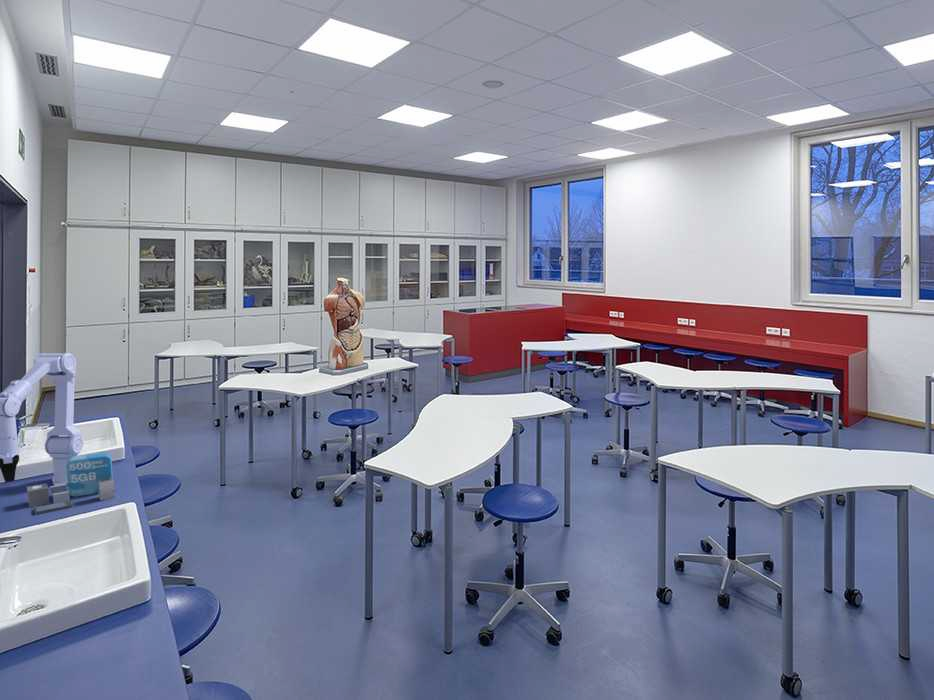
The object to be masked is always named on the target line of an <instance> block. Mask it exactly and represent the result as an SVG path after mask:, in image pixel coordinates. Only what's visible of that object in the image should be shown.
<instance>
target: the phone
mask: <svg viewBox="0 0 934 700" xmlns="http://www.w3.org/2000/svg"><path fill="white" fill-rule="evenodd" d="M72 505H73V504H72V503H71V500H70V501H65V502H60V503H55V504H54V503H51V504H50V503H49V504H44V505H39V506H34V507H33V509H34V516H37V515H43V514H46V513H52V512H56V511H61V510H67V509H72V508H73V506H72ZM71 507H72V508H71Z"/></svg>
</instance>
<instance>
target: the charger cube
mask: <svg viewBox="0 0 934 700" xmlns="http://www.w3.org/2000/svg"><path fill="white" fill-rule="evenodd" d="M26 492H27V503H28V507H29V508H32V507H33V508H34V507H39V506H44V505H49V504H50V496H49V495H50V494H49V487H48V483H41V484H36V485H30V486H26Z"/></svg>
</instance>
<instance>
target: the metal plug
mask: <svg viewBox="0 0 934 700" xmlns="http://www.w3.org/2000/svg"><path fill="white" fill-rule="evenodd" d="M97 485H98V493H97V496H98V497H97V498H98V499H99V501H100V502H102V500H103V501H107V500H112V499H116V491H115V479H114V477H113V478H112V476H111V477H106V478H100V479H97Z"/></svg>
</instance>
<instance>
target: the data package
mask: <svg viewBox="0 0 934 700" xmlns="http://www.w3.org/2000/svg"><path fill="white" fill-rule="evenodd" d="M66 469H67V480H68V483H67V489H68V490H67V491H69V496H70V497H73V498H75V497H81V496H82V497H84V496H90V495H94V494H95V495H96V493H97V494H98V485H97V479H100V478H106V477H111V476H112V478H113V479H114V477H113V473H114V472H113V463H112V455H111V454H110V453H108V452H102V453H93V454H86V455H84V454H83V455H78V456H76V457H71V458H70V459H69V460H68V462H67V464H66ZM83 495H84V496H83Z"/></svg>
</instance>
